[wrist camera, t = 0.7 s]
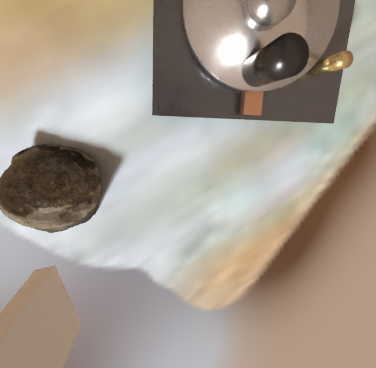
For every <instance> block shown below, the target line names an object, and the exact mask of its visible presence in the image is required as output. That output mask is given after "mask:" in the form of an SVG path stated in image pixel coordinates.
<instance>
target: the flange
mask: <svg viewBox="0 0 376 368" xmlns="http://www.w3.org/2000/svg"><path fill="white" fill-rule="evenodd" d="M339 6H340V0H183V22H184V29H185V32H186V36H187V40H188V42H189V45H190V47H191V50H192V52H193V53H194V55H195V57H196V59H197V60H198V62H199V63H200V64H201V66H202V67H203V68H204V69H205V70H206V71H207V72H208V74H210V75H211V76H212V77H213V78H214V79H216V80H217V81H219V82H220V83H222V84H224V85H226V86H228V87H230V88H233V89H236V90H240V91H243V92H242V97H241V108H240V115H261V111H262V102H263V93H264V92H263V91H269V90H273V89H277V88H280V87H283V86H285V85H288V84H290V83H292V82H294V81H295V80H297V79H298V78H300V77H301V76H303V75H304V74H305V73H306V72H308V71H309V70H310V69H311V68H312V67H313V66H314V65H315V63H316V62H317V61H318V60H319V58H320V57H321V56H322V54H323V53H324V51H325V49H326V48H327V46H328V44H329V42H330V40H331V38H332V35H333V33H334V30H335V27H336V23H337V19H338V14H339Z"/></svg>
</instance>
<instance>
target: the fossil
mask: <svg viewBox="0 0 376 368" xmlns="http://www.w3.org/2000/svg"><path fill="white" fill-rule="evenodd" d="M102 186H103V185H102V181H101V179H100V175H99V170H98V167H97V164H96V162H95V161H94V160H92V158H91V157H89V156H88V155H87V154H85V153H84V152H82V151H81V150H78V149H76V148H65V147H62V146H61V145H54V144H43V145H37V146H32V147H30V148H27V149H25V150H22V151H20V152H19V153H17V154H16V155H14V156H13V157H12V161H11V165H10V167H9V168H8V169H7V170H5V171H4V173H3V174H2V176H1V177H0V210H1V211H2V212H3V213H4V215H6V216H7V217H8V218H10V219H11V220H13V221H15V222H17V223H19V224H21V225H24V226H27V227H31V228H34V229H38V230H42V231H47V232H49V233H53V232H58V231H63V230H67V229H68V228H71V227H74V226H76V225H79V224H80V223H81V224H82V223H85V222H87V221H88V220H89V219H91V217H92V216H93V215H95V213H96V211H97V207H98V202H99V199H100V196H101V192H102Z"/></svg>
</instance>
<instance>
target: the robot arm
mask: <svg viewBox="0 0 376 368" xmlns="http://www.w3.org/2000/svg"><path fill="white" fill-rule="evenodd" d="M80 325H81V323H80V320H79V318H78V316H77V314H76V311H75V309H74V307H73V305H72V302H71V300H70V298H69V296H68V294H67V291H66V289H65V287H64V284H63V282H62V280H61V278H60V276H59V273H58V271H57V269H56V266H55V265H54V266H51V267H46V268H42V269H38V270H35V271H34V272H33V273H32V275H31V276H30V277H29V278H28V280H27V281H26V282H25V283H24V284H23V286H22V287H21V288H20V290H19V291H18V292H17V293H16V294H15V295H14V297H13V298H12V299H11V300H10V302H9V303H8V304H7V305H6V307H5V308H4V309H3V310H2V312H1V313H0V368H64V366H65V363H66V361H67V358H68V356H69V353H70V350H71V348H72V345H73V343H74V340H75V338H76V335H77V333H78V330H79V328H80Z"/></svg>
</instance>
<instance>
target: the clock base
mask: <svg viewBox="0 0 376 368" xmlns="http://www.w3.org/2000/svg"><path fill="white" fill-rule="evenodd" d="M354 4H355V0H340V6H339V14H338V19H337V23H336V27H335V30H334V33H333V35H332V38H331V40H330V42H329V44H328V46H327V48H326V49H325V51H324V53H323V54H322V56H321V57H320V58H319V60H318V61H317V62H316V63H315V65H314V66H313V67H312V68H311V69H310V70H309V71H308V72H306V73H305V74H304V75H303V76H301V77H300V78H298V79H297V80H295V81H294V82H292V83H290V84H288V85H285V86H283V87H280V88H277V89H273V90H269V91H263V92H264V93H263V102H262V111H261V115H240V108H241V97H242V92H243V91H240V90H236V89H233V88H230V87H228V86H226V85H224V84H222V83H220V82H219V81H217V80H216V79H214V78H213V77H212V76H211V75H210V74H208V72H207V71H206V70H205V69H204V68H203V67H202V66H201V64H200V63H199V62H198V60H197V59H196V57H195V55H194V53H193V52H192V50H191V47H190V45H189V42H188V40H187V36H186V32H185V29H184V22H183V0H154V14H153V112H152V115H160V116H182V117H204V118H226V119H248V120H270V121H292V122H314V123H334V117H335V111H336V106H337V100H338V94H339V89H340V83H341V77H342V72H343V69H344V68H347V67H349V66H350V65H351V64H352V62H353V55H352V53H351V52H350V51H347V50H346V49H347V43H348V38H349V32H350V26H351V21H352V15H353V9H354Z"/></svg>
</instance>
